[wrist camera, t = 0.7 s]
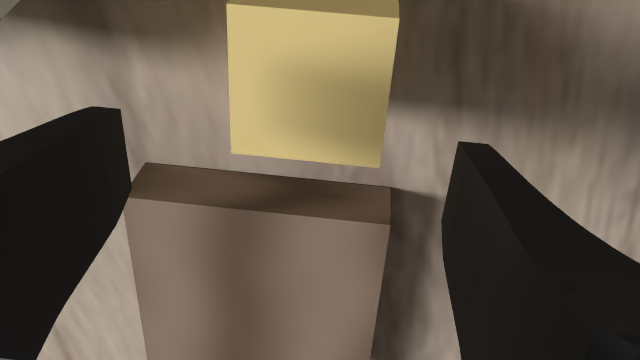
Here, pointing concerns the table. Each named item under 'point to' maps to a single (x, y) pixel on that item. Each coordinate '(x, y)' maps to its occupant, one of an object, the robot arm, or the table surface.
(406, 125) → the table surface
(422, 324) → the table surface
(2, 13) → the teacup
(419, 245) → the table surface
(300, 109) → the mustard block
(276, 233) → the walnut plinth
